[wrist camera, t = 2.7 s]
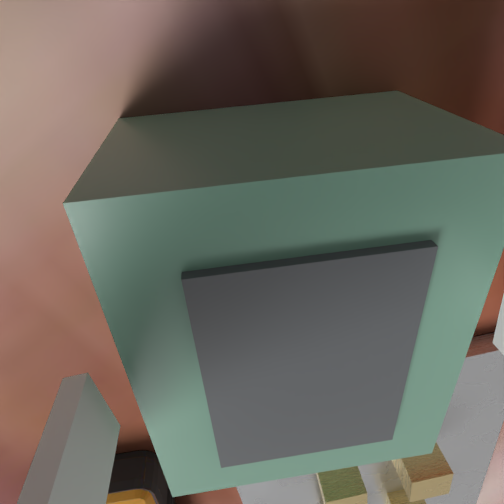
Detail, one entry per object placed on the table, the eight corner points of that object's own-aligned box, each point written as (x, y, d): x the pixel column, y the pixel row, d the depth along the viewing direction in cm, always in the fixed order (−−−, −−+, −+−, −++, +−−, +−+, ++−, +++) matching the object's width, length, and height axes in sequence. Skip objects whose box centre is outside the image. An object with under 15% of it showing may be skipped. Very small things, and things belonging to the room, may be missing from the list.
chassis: (206, 396, 22) (209, 471, 18) (513, 328, 22) (574, 389, 18) (265, 548, 34) (274, 610, 30) (463, 502, 34) (494, 559, 31)
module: (119, 117, 13) (58, 210, 7) (395, 89, 14) (548, 153, 8) (178, 353, 20) (172, 506, 14) (364, 326, 21) (435, 461, 15)
